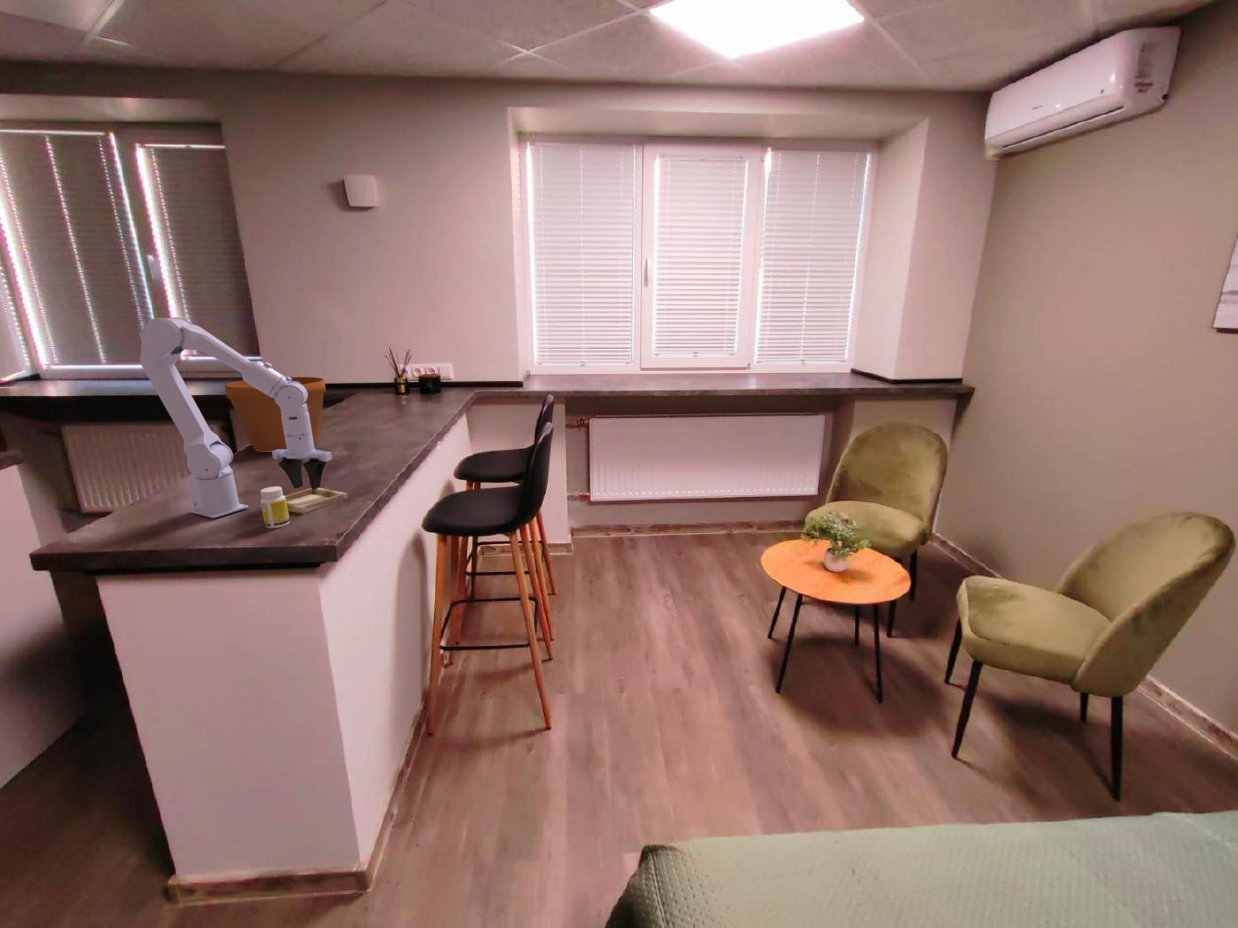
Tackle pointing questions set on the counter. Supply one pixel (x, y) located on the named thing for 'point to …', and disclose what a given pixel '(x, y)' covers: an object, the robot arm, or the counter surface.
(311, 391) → the flowerpot
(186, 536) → the counter surface
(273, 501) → the supplement bottle
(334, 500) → the tray
